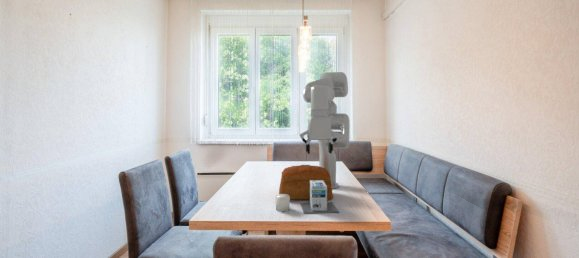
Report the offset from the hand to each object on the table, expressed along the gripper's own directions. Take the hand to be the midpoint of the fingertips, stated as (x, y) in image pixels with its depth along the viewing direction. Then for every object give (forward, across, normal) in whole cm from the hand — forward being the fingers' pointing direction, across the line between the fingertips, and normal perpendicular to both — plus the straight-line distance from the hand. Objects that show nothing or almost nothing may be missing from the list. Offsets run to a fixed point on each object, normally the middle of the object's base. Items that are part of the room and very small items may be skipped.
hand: (319, 153), depth 120 cm
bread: (+25, +4, -17) cm, 31 cm away
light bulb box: (+24, +1, +1) cm, 24 cm away
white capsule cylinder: (+24, +16, +1) cm, 29 cm away
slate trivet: (+25, 0, +1) cm, 25 cm away
